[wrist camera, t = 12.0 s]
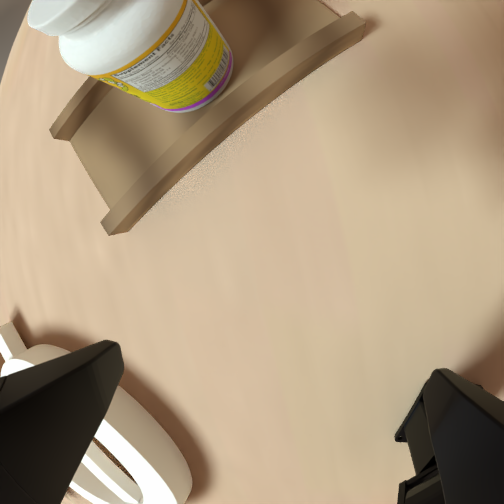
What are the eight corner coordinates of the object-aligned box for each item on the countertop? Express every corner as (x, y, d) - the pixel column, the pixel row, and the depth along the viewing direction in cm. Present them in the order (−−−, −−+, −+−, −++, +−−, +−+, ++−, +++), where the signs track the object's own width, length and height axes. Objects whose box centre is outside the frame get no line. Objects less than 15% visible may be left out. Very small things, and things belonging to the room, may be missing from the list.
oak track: (127, 231, 21) (108, 235, 19) (67, 133, 21) (49, 129, 19) (361, 39, 15) (366, 22, 13) (258, -36, 15) (252, -53, 13)
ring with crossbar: (8, 311, 28) (-18, 322, 23) (199, 404, 23) (178, 439, 18) (48, 447, 33) (33, 460, 29) (190, 522, 29) (180, 544, 24)
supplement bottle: (141, 62, 18) (19, -7, 6) (218, 22, 16) (131, -93, 4) (162, 132, 19) (7, 83, 6) (250, 90, 17) (153, -38, 5)
